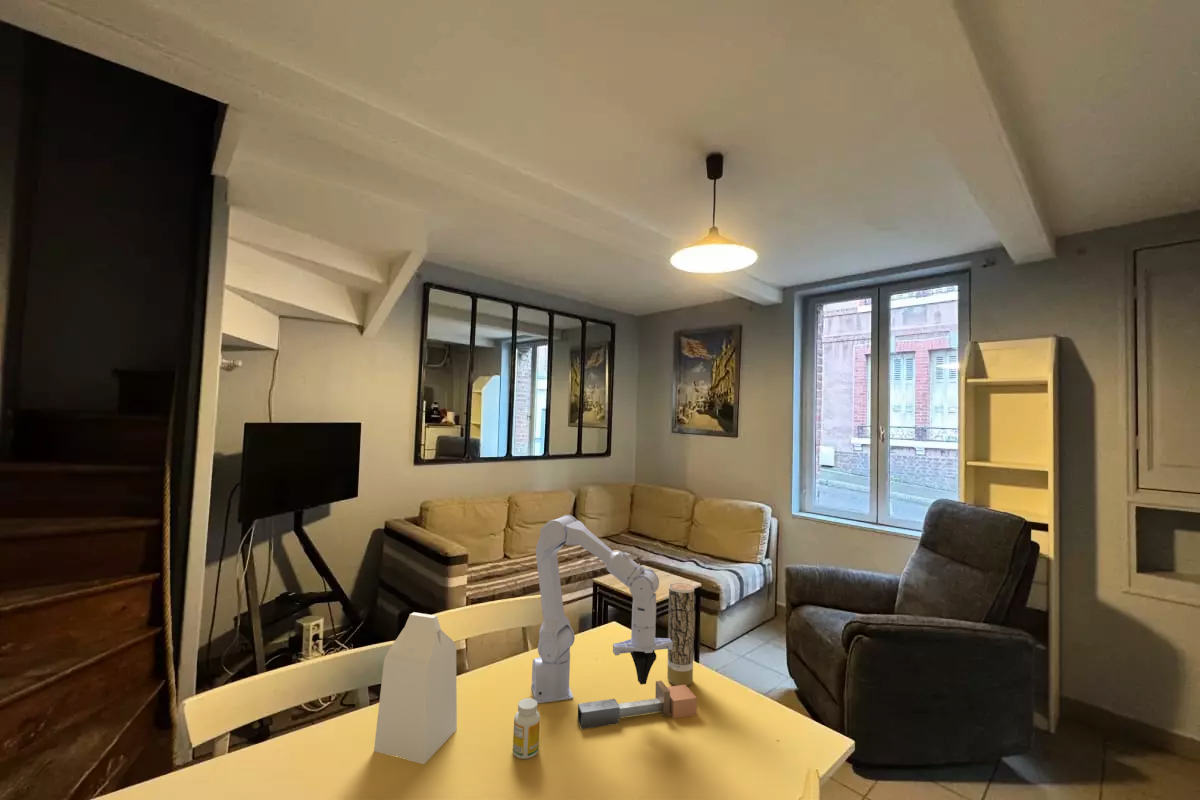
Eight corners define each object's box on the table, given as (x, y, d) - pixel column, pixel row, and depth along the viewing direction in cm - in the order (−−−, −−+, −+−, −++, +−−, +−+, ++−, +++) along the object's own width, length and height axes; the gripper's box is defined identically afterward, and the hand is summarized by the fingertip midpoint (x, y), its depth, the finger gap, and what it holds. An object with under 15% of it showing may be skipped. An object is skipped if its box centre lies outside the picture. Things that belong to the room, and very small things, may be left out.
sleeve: (581, 729, 106) (581, 712, 107) (577, 719, 110) (578, 703, 110) (619, 723, 109) (619, 707, 109) (614, 714, 112) (614, 698, 113)
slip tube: (604, 725, 107) (605, 700, 108) (598, 712, 112) (599, 688, 112) (681, 713, 113) (681, 689, 113) (672, 702, 117) (672, 679, 118)
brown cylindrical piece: (685, 690, 124) (687, 592, 125) (662, 681, 128) (664, 586, 129) (697, 680, 129) (698, 586, 131) (674, 672, 133) (676, 581, 135)
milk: (456, 729, 105) (462, 609, 107) (424, 764, 94) (431, 629, 96) (410, 719, 108) (416, 602, 110) (373, 751, 97) (381, 621, 99)
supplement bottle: (511, 760, 96) (513, 711, 96) (513, 743, 101) (515, 696, 102) (538, 759, 96) (540, 710, 97) (539, 742, 102) (540, 695, 102)
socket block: (673, 718, 111) (673, 700, 112) (662, 704, 117) (663, 687, 117) (696, 715, 113) (696, 697, 113) (684, 701, 119) (685, 684, 119)
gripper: (620, 633, 108) (618, 695, 107) (678, 628, 112) (677, 687, 111) (611, 620, 115) (609, 678, 114) (666, 616, 119) (664, 672, 118)
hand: (641, 682), depth 113 cm, fingers closed
